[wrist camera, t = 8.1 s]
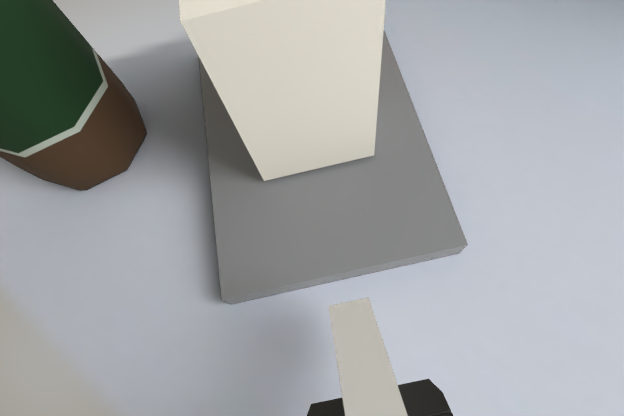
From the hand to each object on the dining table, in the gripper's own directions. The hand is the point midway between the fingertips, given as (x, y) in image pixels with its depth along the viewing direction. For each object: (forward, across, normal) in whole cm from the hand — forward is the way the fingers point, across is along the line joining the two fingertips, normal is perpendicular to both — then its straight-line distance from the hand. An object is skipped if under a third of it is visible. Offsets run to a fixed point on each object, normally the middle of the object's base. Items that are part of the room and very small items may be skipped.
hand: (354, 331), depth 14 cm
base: (+11, 0, +5) cm, 12 cm away
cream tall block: (+9, 0, +6) cm, 11 cm away
